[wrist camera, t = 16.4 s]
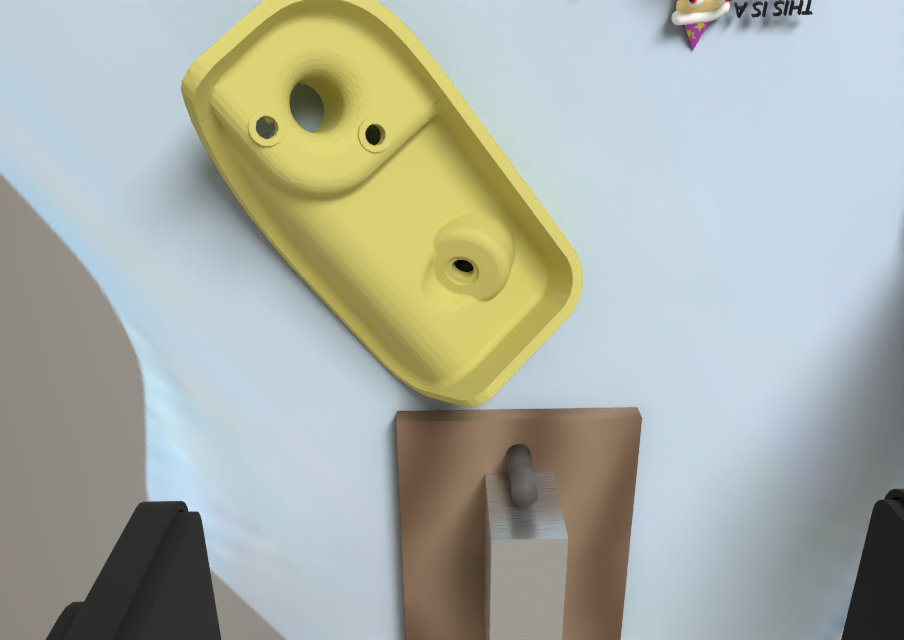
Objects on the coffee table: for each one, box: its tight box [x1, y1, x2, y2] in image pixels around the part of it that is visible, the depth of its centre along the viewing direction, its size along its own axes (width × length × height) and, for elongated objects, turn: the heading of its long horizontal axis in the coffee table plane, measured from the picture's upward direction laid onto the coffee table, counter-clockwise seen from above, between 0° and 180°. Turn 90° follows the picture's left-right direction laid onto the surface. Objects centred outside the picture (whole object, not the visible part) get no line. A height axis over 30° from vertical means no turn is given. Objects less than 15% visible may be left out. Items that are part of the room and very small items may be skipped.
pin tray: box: [396, 408, 642, 640], centre depth 49 cm, size 14×18×5 cm
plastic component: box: [181, 0, 583, 408], centre depth 40 cm, size 20×8×10 cm
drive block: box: [484, 472, 568, 640], centre depth 47 cm, size 4×10×6 cm, turn 0°
